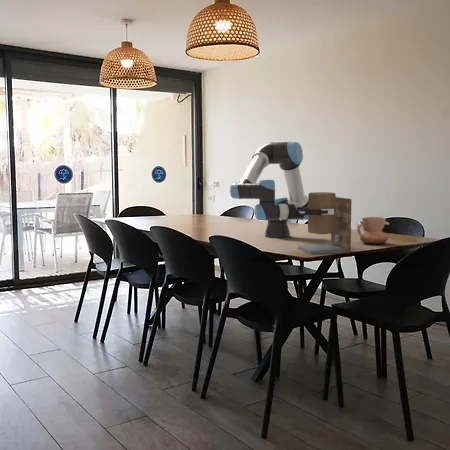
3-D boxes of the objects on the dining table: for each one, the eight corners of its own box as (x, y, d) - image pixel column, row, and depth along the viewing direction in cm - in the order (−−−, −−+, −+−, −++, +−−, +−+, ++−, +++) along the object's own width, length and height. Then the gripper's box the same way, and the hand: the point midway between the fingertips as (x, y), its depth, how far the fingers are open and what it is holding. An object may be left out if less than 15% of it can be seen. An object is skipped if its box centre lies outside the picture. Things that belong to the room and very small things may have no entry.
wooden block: (319, 234, 253) (320, 193, 251) (307, 232, 262) (307, 192, 260) (335, 233, 257) (336, 192, 255) (323, 231, 266) (323, 192, 264)
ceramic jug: (382, 241, 292) (382, 215, 291) (394, 244, 278) (394, 217, 277) (351, 242, 290) (351, 217, 288) (362, 246, 276) (362, 219, 274)
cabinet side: (344, 253, 252) (345, 198, 249) (328, 247, 272) (329, 196, 269) (350, 252, 253) (351, 198, 250) (334, 246, 272) (335, 196, 270)
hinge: (374, 237, 309) (368, 221, 308) (366, 240, 310) (360, 224, 309) (367, 233, 326) (362, 218, 325) (359, 236, 326) (354, 221, 325)
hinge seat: (310, 254, 250) (310, 250, 250) (298, 248, 268) (298, 245, 268) (345, 252, 253) (345, 249, 253) (331, 247, 271) (331, 244, 271)
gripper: (279, 217, 267) (320, 216, 271) (294, 221, 244) (338, 220, 248) (279, 202, 267) (320, 201, 270) (294, 205, 243) (338, 204, 247)
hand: (328, 210), depth 259 cm, fingers closed on wooden block, 12 cm apart
